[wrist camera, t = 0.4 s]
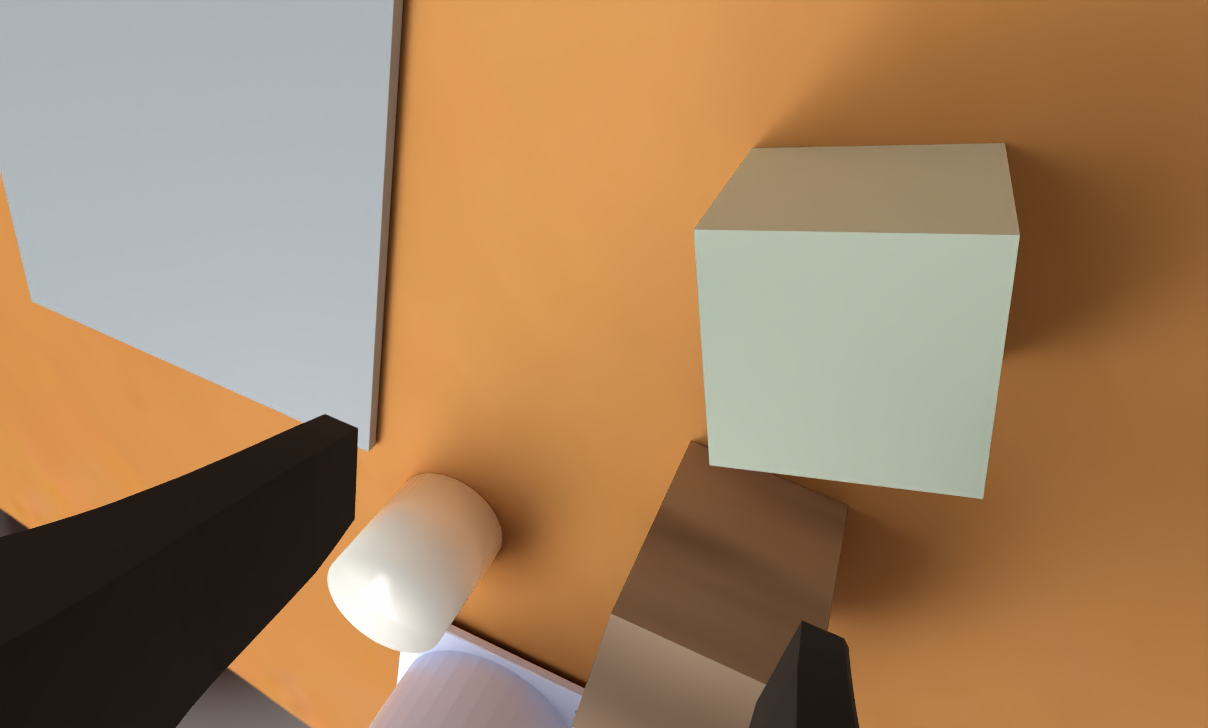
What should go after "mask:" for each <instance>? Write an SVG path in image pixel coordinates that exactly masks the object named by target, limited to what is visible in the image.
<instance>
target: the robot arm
mask: <svg viewBox="0 0 1208 728" xmlns="http://www.w3.org/2000/svg"><path fill="white" fill-rule="evenodd" d="M357 447H358V428H357V427H354V426H352V425H350V424H347V423H345V422H343V421H340V420H338V419H336V418H333V417H331V416H329V415H327V414H323V415H321V416H319V417H316V418H314V419H312V420H309V421H307V422H305V423H303V424H300V425H298V426H296V427H293V428H291V429H289V430H287V431H284V432H282V433H280V434H278V435H275V436H273V437H271V438H269V439H266V440H264V441H262V442H260V443H258V444H255V445H253V446H251V447H249V448H246V449H244V450H242V451H240V452H237V453H235V454H233V455H230V456H228V457H226V458H223V459H221V460H219V461H216V462H214V463H212V464H209V465H207V466H205V467H202V468H200V469H198V470H195V471H193V472H191V473H188V474H186V475H183V476H181V477H179V478H176V479H173V480H171V481H168V482H166V483H163V484H160V485H158V486H155V487H153V488H150V489H147V490H145V491H142V492H140V493H137V494H134V495H132V496H129V497H126V498H124V499H121V500H119V501H116V502H113V503H110V504H108V505H105V506H102V507H99V508H96V509H93V510H90V511H87V512H84V513H81V514H78V515H75V516H72V517H68V518H65V519H62V520H59V521H55V522H52V523H49V524H46V525H42V526H39V527H36V528H32V529H29V530H26V531H22V532H19V533H15V534H11V535H7V536H3V537H0V728H176V726H177V725H178V724H179V722H180V721H181V720H182V719H183V717H184V716H185V715H186V713H187V712H188V711H189V710H190V708H191V707H192V706H193V705H194V704H195V702H196V701H197V700H198V699H199V698H200V697H201V696H202V694H203V693H204V692H205V691H206V690H207V688H209V686H210V685H211V684H212V683H213V682H214V681H215V680H216V679H217V678H218V676H219V675H220V674H221V673H222V672H223V671H224V670H225V669H226V668H227V667H228V666H229V665H230V664H231V663H232V662H233V661H234V660H235V658H236V657H237V656H238V655H239V654H240V653H241V652H242V651H243V650H244V649H245V648H246V647H247V646H248V645H249V644H250V643H251V641H252V640H253V639H254V638H255V637H256V636H257V635H258V634H259V633H260V632H261V631H262V630H263V629H264V628H265V627H266V626H267V624H268V623H269V622H270V621H271V620H272V619H273V618H274V617H275V616H276V615H277V614H278V613H279V612H280V611H281V610H282V609H283V607H284V606H285V605H286V604H287V603H288V602H289V601H290V600H291V599H292V598H293V597H294V596H295V594H296V593H297V592H298V591H299V590H300V589H301V588H302V587H303V586H304V585H305V584H306V583H307V581H308V580H309V579H310V578H311V577H312V576H313V575H314V574H315V573H316V571H317V570H318V569H319V567H320V566H321V565H322V563H323V562H324V561H325V559H326V558H327V557H328V555H329V554H330V553H331V551H332V550H333V549H334V547H335V546H336V545H337V543H338V542H339V540H340V539H341V538H342V536H343V535H344V533H345V532H346V530H347V529H348V528H349V526H350V525H351V523H352V522H353V521H354V519H355V496H356V471H357ZM584 690H585V688H583V687H581V686H579V685H577V684H574V683H572V682H570V681H568V680H566V679H564V678H562V677H560V676H558V675H556V674H554V673H552V672H549V671H547V670H545V669H543V668H541V667H539V666H537V665H535V664H533V663H531V662H529V661H526V660H524V659H522V658H520V657H518V656H516V655H514V654H512V653H510V652H508V651H506V650H504V649H501V648H499V647H497V646H495V645H493V644H491V643H489V642H487V641H485V640H483V639H481V638H478V637H476V636H474V635H472V634H470V633H468V632H466V631H464V630H462V629H460V628H458V627H456V626H453V625H450V626H449V628H448V629H447V631H446V632H445V634H444V635H443V637H442V638H441V640H440V641H439V643H438V644H437V645H436V646H435V647H434V648H432V649H431V650H428V651H426V652H422V653H406V652H401V651H400V660H399V669H398V678H397V686H396V687H395V688H394V690H393V691H392V693H391V694H390V696H389V697H388V699H387V700H386V702H385V703H384V705H383V706H382V708H381V709H380V710H379V712H378V713H377V715H376V716H375V718H374V719H373V721H372V722H371V724H370V725H369V727H368V728H574V727H572V724H573V721H574V718H575V715H576V712H577V710H578V707H579V704H580V701H581V698H582V695H583V692H584ZM749 728H859V724H858V718H857V712H856V706H855V699H854V692H853V685H852V677H851V669H850V659H849V648H848V645H847V643H846V641H845V639H844V638H842V637H839V636H837V635H835V634H832V633H830V632H828V631H825V630H823V629H821V628H818V627H816V626H814V625H812V624H809V623H807V622H805V621H801V623H800V625H799V626H798V628H797V630H796V632H795V634H794V635H793V637H792V639H791V641H790V643H789V644H788V646H787V648H786V650H785V652H784V653H783V655H782V657H781V659H780V661H779V662H778V664H777V666H776V668H775V670H774V671H773V673H772V675H771V677H770V679H769V680H768V682H767V684H766V686H765V687H764V689H763V691H762V693H761V695H760V696H759V698H758V700H757V702H756V705H755V708H754V712H753V715H752V719H751V722H750V726H749Z"/></svg>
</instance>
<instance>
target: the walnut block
mask: <svg viewBox="0 0 1208 728" xmlns="http://www.w3.org/2000/svg"><path fill="white" fill-rule="evenodd" d="M847 511H848V505H846V504H844V503H841V502H839V501H836V500H834V499H831V498H829V497H827V496H824V495H822V494H819V493H817V492H814V491H812V490H810V489H807V488H805V487H802V486H800V485H797V484H795V483H793V482H790V481H788V480H785V479H783V478H780V477H778V476H776V475H773V474H771V473H768V472H760V471H752V470H744V469H736V468H728V467H720V466H712V465H710V464H709V449H708V448H707V447H705V446H703V445H700V444H698V443H695V442H693V441H691V442H690V444H689V446H688V448H687V450H686V453H685V455H684V457H683V459H682V461H681V463H680V466H679V468H678V470H677V472H676V474H675V476H674V479H673V481H672V483H671V485H670V487H669V489H668V492H667V494H666V496H665V498H664V500H663V502H662V505H661V507H660V509H659V511H658V513H657V515H656V518H655V520H654V522H653V524H652V526H651V528H650V531H649V533H648V535H647V537H646V539H645V541H644V544H643V546H642V548H641V550H640V552H639V554H638V557H637V559H636V561H635V563H634V565H633V567H632V570H631V572H630V574H629V576H628V578H627V580H626V583H625V585H624V587H623V589H622V591H621V593H620V596H619V598H618V600H617V602H616V604H615V606H614V608H613V611H612V613H611V615H610V618H609V621H608V624H607V627H606V630H605V633H604V635H603V638H602V641H601V644H600V647H599V650H598V653H597V655H596V658H595V661H594V664H593V667H592V670H591V672H590V675H589V678H588V681H587V684H586V687H585V690H584V692H583V695H582V698H581V701H580V704H579V707H578V710H577V712H576V715H575V718H574V721H573V724H572V727H574V728H749V726H750V722H751V719H752V715H753V712H754V708H755V705H756V702H757V700H758V698H759V696H760V695H761V693H762V691H763V689H764V687H765V686H766V684H767V682H768V680H769V679H770V677H771V675H772V673H773V671H774V670H775V668H776V666H777V664H778V662H779V661H780V659H781V657H782V655H783V653H784V652H785V650H786V648H787V646H788V644H789V643H790V641H791V639H792V637H793V635H794V634H795V632H796V630H797V628H798V626H799V625H800V623H801V621H805V622H807V623H809V624H812V625H814V626H816V627H818V628H821V629H823V630H825V631H827V629H828V623H829V617H830V611H831V606H832V600H833V594H834V588H835V582H836V576H837V570H838V564H839V558H840V552H841V546H842V540H843V535H844V529H845V523H846V517H847Z"/></svg>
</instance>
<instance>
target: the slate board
mask: <svg viewBox="0 0 1208 728" xmlns="http://www.w3.org/2000/svg"><path fill="white" fill-rule="evenodd" d="M402 11H403V0H0V171H1V175H2V179H3V184H4V188H5V192H6V196H7V200H8V204H9V209H10V213H11V217H12V221H13V225H14V229H15V234H16V238H17V242H18V246H19V250H20V254H21V259H22V263H23V267H24V271H25V275H26V279H27V284H28V288H29V292H30V296H31V300H32V302H34V303H37V304H39V305H41V306H43V307H46V308H48V309H50V310H52V311H55V312H57V313H59V314H61V315H63V316H66V317H68V318H70V319H72V320H75V321H77V322H79V323H81V324H84V325H86V326H88V327H90V328H93V329H95V330H97V331H99V332H102V333H104V334H106V335H108V336H111V337H113V338H115V339H117V340H119V341H122V342H124V343H126V344H128V345H131V346H133V347H135V348H137V349H140V350H142V351H144V352H146V353H149V354H151V355H153V356H155V357H158V358H160V359H162V360H164V361H166V362H169V363H171V364H173V365H175V366H178V367H180V368H182V369H184V370H187V371H189V372H191V373H193V374H196V375H198V376H200V377H202V378H205V379H207V380H209V381H211V382H213V383H216V384H218V385H220V386H222V387H225V388H227V389H229V390H231V391H234V392H236V393H238V394H240V395H243V396H245V397H247V398H249V399H252V400H254V401H256V402H258V403H260V404H263V405H265V406H267V407H269V408H272V409H274V410H276V411H278V412H281V413H283V414H285V415H287V416H290V417H292V418H294V419H296V420H299V421H301V422H303V423H305V422H307V421H309V420H312V419H314V418H316V417H319V416H321V415H323V414H327V415H329V416H331V417H333V418H336V419H338V420H340V421H343V422H345V423H347V424H350V425H352V426H354V427H357V428H358V447H359V448H361V449H363V450H366V451H368V452H369V451H370V450H371V449H372V448H373V447H374V446H375V445H376V429H377V413H378V396H379V380H380V364H381V348H382V332H383V316H384V300H385V284H386V268H387V252H388V236H389V220H390V204H391V188H392V172H393V156H394V140H395V124H396V107H397V91H398V75H399V59H400V43H401V27H402Z"/></svg>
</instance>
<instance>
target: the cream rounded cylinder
mask: <svg viewBox="0 0 1208 728" xmlns="http://www.w3.org/2000/svg"><path fill="white" fill-rule="evenodd" d="M501 545H502V530H501V526H500V523H499V521H498V519H497V517H496V515H495V513H494V511H493V510H492V508H491V507H490V506H489V504H488V503H487V502H486V501H485V500H484V499H483V498H482V497H481V496H480V495H479V494H478V493H477V492H476V491H474V490H473V489H472V488H470V487H469V486H467V485H466V484H464V483H462V482H460V481H458V480H456V479H454V478H451V477H449V476H445V475H442V474H436V473H423V474H418V475H415V476H413V477H411V478H410V479H408V480H407V481H406V482H405V483H404V484H403V485H402V486H401V487H400V489H399V490H398V491H397V492H396V493H395V494H394V495H393V496H392V498H391V499H390V500H389V501H388V502H387V503H386V504H385V505H384V506H383V508H382V509H381V510H380V511H379V512H378V513H377V514H376V515H375V517H374V518H373V519H372V520H371V521H370V522H369V523H368V524H367V526H366V527H365V528H364V529H363V530H362V531H361V532H360V533H359V535H358V536H357V537H356V538H355V539H354V540H353V541H352V542H351V544H350V545H349V546H348V547H347V548H346V549H345V550H344V551H343V552H342V554H341V555H340V556H339V557H338V558H337V559H336V560H335V561H334V563H333V564H332V565H331V567H330V569H329V572H328V587H329V591H330V593H331V596H332V598H333V600H334V602H335V604H336V605H337V607H338V608H339V610H340V611H341V612H342V614H343V615H344V616H345V617H346V618H347V620H348V621H349V622H350V623H351V624H352V625H353V626H355V627H356V628H357V629H358V630H359V631H360V632H362V633H363V634H365V635H366V636H367V637H369V638H371V639H372V640H374V641H376V642H377V643H379V644H381V645H383V646H386V647H388V648H391V649H394V650H397V651H401V652H406V653H422V652H426V651H428V650H431V649H432V648H434V647H435V646H436V645H437V644H438V643H439V641H440V640H441V638H442V637H443V635H444V634H445V632H446V631H447V629H448V628H449V626H450V625H451V623H452V622H453V620H454V619H455V617H456V616H457V614H458V613H459V611H460V610H461V608H462V607H463V605H464V604H465V602H466V601H467V599H468V598H469V596H470V595H471V593H472V592H473V590H474V589H475V587H476V586H477V584H478V583H479V581H480V580H481V578H482V577H483V575H484V574H485V572H486V571H487V569H488V568H489V566H490V565H491V563H492V562H493V560H494V559H495V557H496V556H497V554H498V552H499V550H500V548H501Z"/></svg>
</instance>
